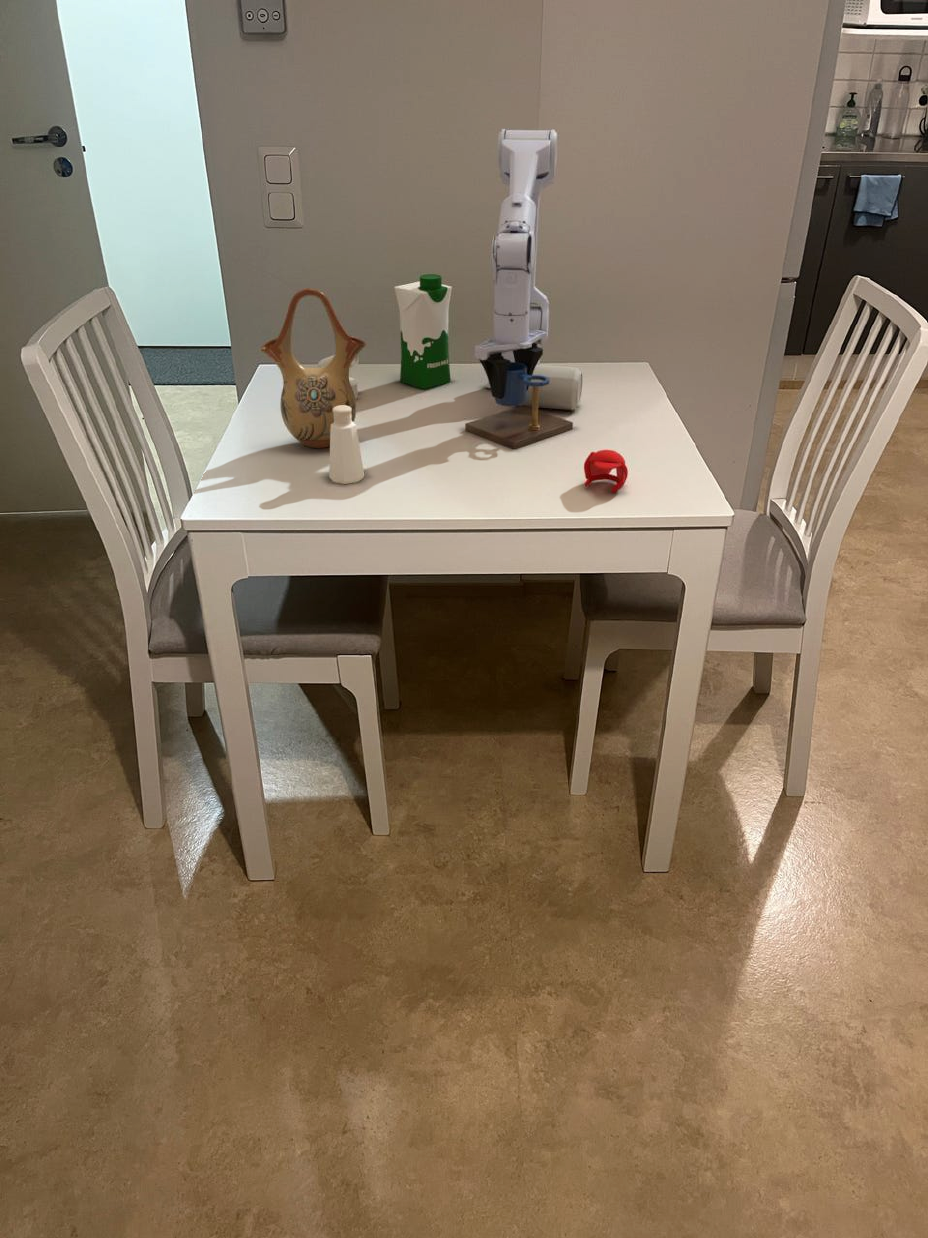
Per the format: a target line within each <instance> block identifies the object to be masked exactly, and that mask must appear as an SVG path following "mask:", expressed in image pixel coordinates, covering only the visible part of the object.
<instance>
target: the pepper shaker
mask: <svg viewBox="0 0 928 1238" xmlns="http://www.w3.org/2000/svg"><path fill="white" fill-rule="evenodd" d="M351 411H352V408H351V407H349V406H346V405H339V406H336V407H334V408H333V414H334V415H333V416H334V423H332V424H331V429H330V447H329V466H328V467H329V468H328V469H329V470H328V472H329V473H328V476H329V478H330V480H331V481H332V482H333V483H336V484H342V485H348V484H355V483H359V482H360V481H362V479H364V478H365V476H366V475H365V471H364V464H363V459H362V453H361V447H360V442H359V435H358V430H357V425H356V423H355V421H354V422H353V421H352V419H351V418H352V417H351V416H352V414H351Z"/></svg>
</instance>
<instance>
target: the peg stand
mask: <svg viewBox="0 0 928 1238" xmlns="http://www.w3.org/2000/svg"><path fill="white" fill-rule="evenodd" d="M538 397H539V386H533V396H532V407H527V406H524V405H522V406H520V405H518V406H515V407H513V408H511V409H507V410H504V411H501V412H497V413H494V414H491V415H488V416H484V417H481V418H478V419H475V420H472V421H469V422H465V423H464V424H465V425H464V427H465V429H464V430H465V431H467V432H469V433H472V434H474V435H477V436H480V437H482V438H485V439H487V440H490V441H492V442H495V443H497V444H500V445H502V446H505V447H507V448H510V449H513V450H516V449H519V448H522V447H525V446H527V445H531V444H535V443H537V442H538V441H539V442H540V441H542V440H545V439H548V438H551V437H553V436H556V435H559V434H562V433H565V432H569V431H570V430H573V428H574V423H573V421H570V420H567V419H565V418H561V417H559V416H556V415H553V414H550V413H547V412H544V411H541V410H539V407H538Z"/></svg>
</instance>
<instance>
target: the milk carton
mask: <svg viewBox="0 0 928 1238" xmlns="http://www.w3.org/2000/svg"><path fill="white" fill-rule="evenodd" d="M442 281H443V280H442V275H440V274H434V273H433V274H432V273H430V274H429V273H427V274H422V275H420V276H419V281H415V282H411V283H407V284H402V285H397V286H394V287H393V288H394V292H395V296H396V301H397V305H398V308H399V328H400V329H399V330H400V331H399V332H400V374H399V375H400V376H399V378H400V379H399V382H400V383H403V384H407V385H409V386H413V387H416V388H419V389H422V390H428V389H430V388H434V387H438V386H440V385H441V386H442V385H444V384H448V383H451V380H452V379H451V367H450V366H451V365H450V350H449V349H450V348H449V347H450V346H449V343H450V342H449V308H450V307H449V306H450V301H451V295H452V291H453V286H450V285H447V284H442Z"/></svg>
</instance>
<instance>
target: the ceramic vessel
mask: <svg viewBox="0 0 928 1238" xmlns="http://www.w3.org/2000/svg"><path fill="white" fill-rule="evenodd" d="M305 297H315V298H317V299H319V301H320V302H321V303H322V306H323V307H324V309H325V312H326V314H327V317H328V319H329V322H330V324H331V328H332V332H333V337H334V344H335V352H334V354H333V355H334V357H333V359H332V360H331V361H330V362H329V363H328V364H327V365H325V366H323V367H319V368H317V367H307V366H305V365H303V364H302V363H300V362H299V361H298V360H297V359H296V358H295V356H294V353H293V350H292V329H293V322H294V318H295V314H296V310H297V307H298V304H299V303H300V300H302V299H303V298H305ZM366 346H367V344H366V342H365V341H364V340H362V339H360V338H358V337H356V336H353V335H349V334H348V333H347V331H345V329H344V327H343V326H342V324H341V322H340V320H339V318H338V316H337V314H336V312H335V309H334V307H333V306H332V304H331V301H330V299H329V298H328V297H327V295H326V294H325V293H324V292H322V291H321V290H318V289H316V288H312V287H306V288H304V289H300V290H299V291H297V292H296V293H294V294H293V296H292V297H291V300H290V301H289V305H288V308H287V311H286V315H285V318H284V322H283V324H282V328H281V330H280V332H279V334H278V336H277V337H276V338H273V339H270V340H269V341H267V342H265V343H264V344H263V345H262V346H261V347H260V348H259V349H260V351H261V352H262V353H263V354H264V355H266V356H267V357H268V358H269V359H270V360H272V361H273V362H274V364H275V365H276V366H277V367H278V369H279V370H280V373H281V376H282V383H283V385H282V391H281V395H280V400H279V401H280V402H279V406H280V407H279V408H280V413H281V418H282V421H283V423H284V426H285V428H286V429H287V431H288V432H289V433H290V435H291V436H292V437H293V438H294V439H296V440H297V441H298V442H299V443H300V444H302V445H304V446H306V447H309V448H315V449H325V448H330V429H331V424H332V423H334V416H333V415H334V414H333V408H334V407H336V406H339V405H346V406H349V407H351V408H352V411H351V414H352V416H351V417H352V418H351V419H352V421H353V422H354V423H355V420H356V415H357V400H356V399H355V395H354V392H353V390H352V387H351V385H350V382H349V377H350V369H351V367H350V366H351V363H352V361H353V360H354V358H355V357H356V356H357V354H358V355H359V354H360V352H361V351H362V350H363V349H364V348H365V347H366Z"/></svg>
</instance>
